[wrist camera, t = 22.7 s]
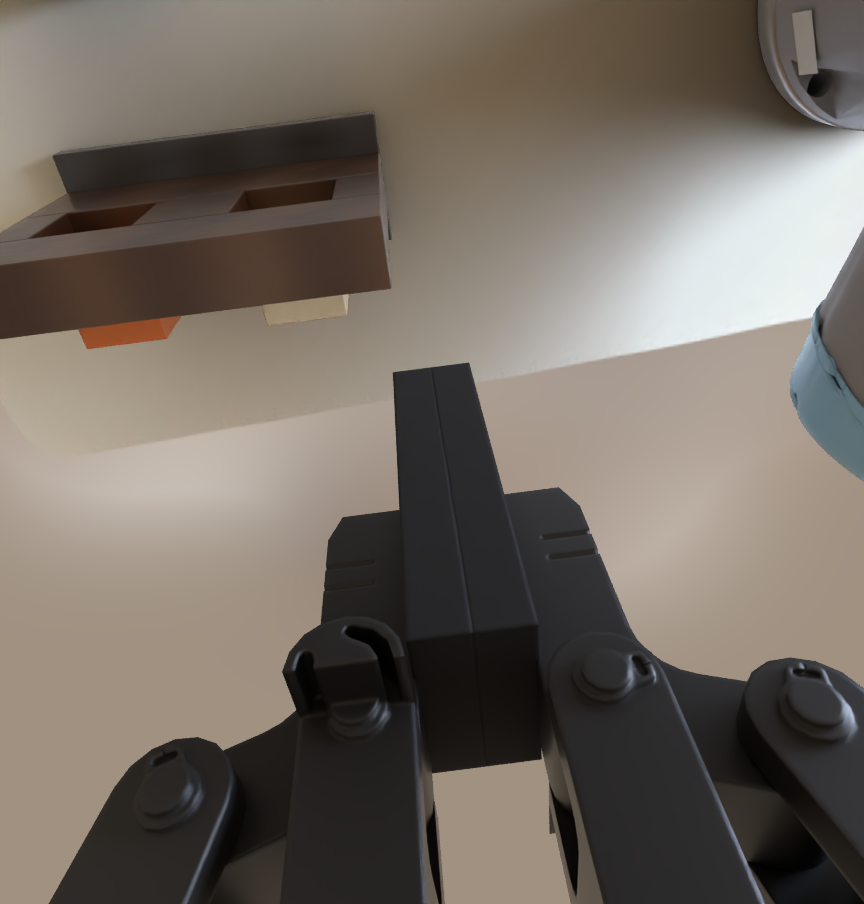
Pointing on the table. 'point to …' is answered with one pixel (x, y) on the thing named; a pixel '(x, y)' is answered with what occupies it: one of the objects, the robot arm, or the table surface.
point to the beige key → (306, 310)
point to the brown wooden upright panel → (201, 227)
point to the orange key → (128, 332)
